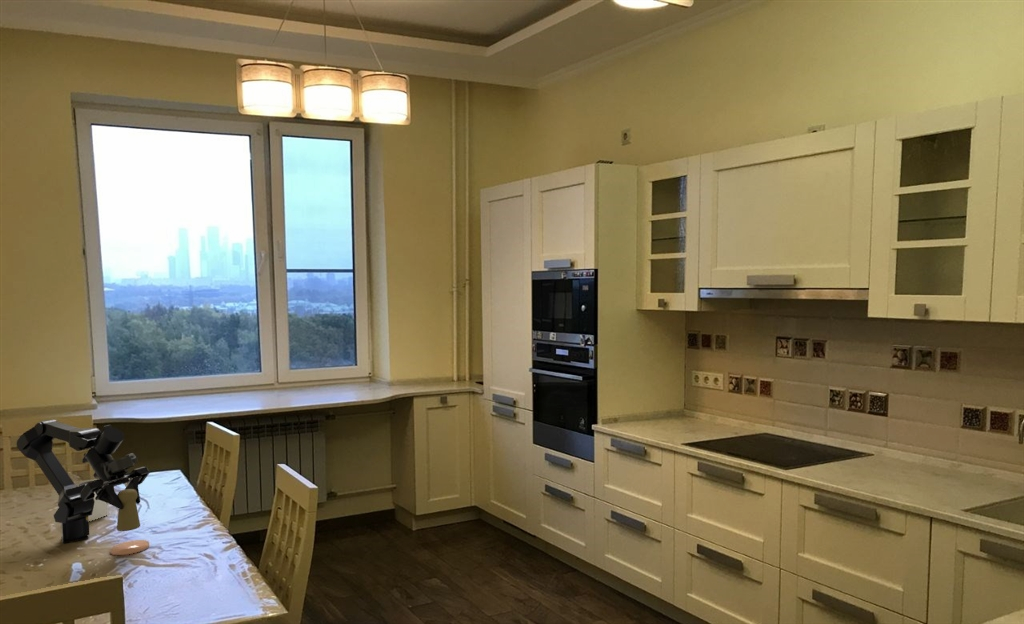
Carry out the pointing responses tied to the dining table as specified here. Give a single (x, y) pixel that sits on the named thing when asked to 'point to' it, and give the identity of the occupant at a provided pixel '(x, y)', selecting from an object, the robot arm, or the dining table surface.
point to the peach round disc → (129, 547)
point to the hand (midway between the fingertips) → (131, 505)
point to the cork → (128, 511)
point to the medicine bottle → (97, 508)
